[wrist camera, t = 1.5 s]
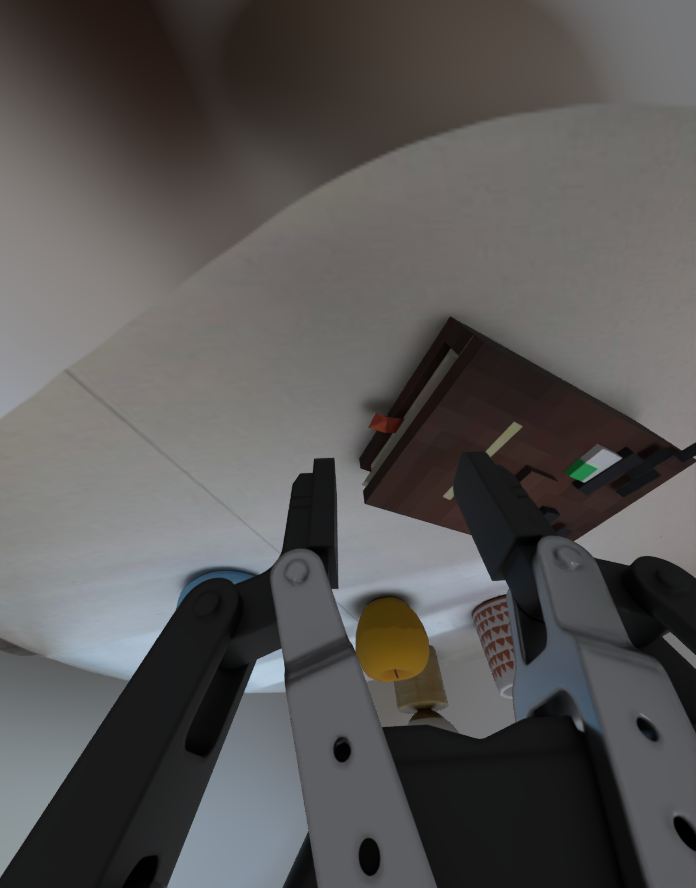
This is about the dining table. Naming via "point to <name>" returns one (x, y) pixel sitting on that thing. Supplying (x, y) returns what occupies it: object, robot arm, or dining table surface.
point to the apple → (391, 641)
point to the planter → (497, 642)
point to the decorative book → (509, 439)
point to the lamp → (424, 696)
